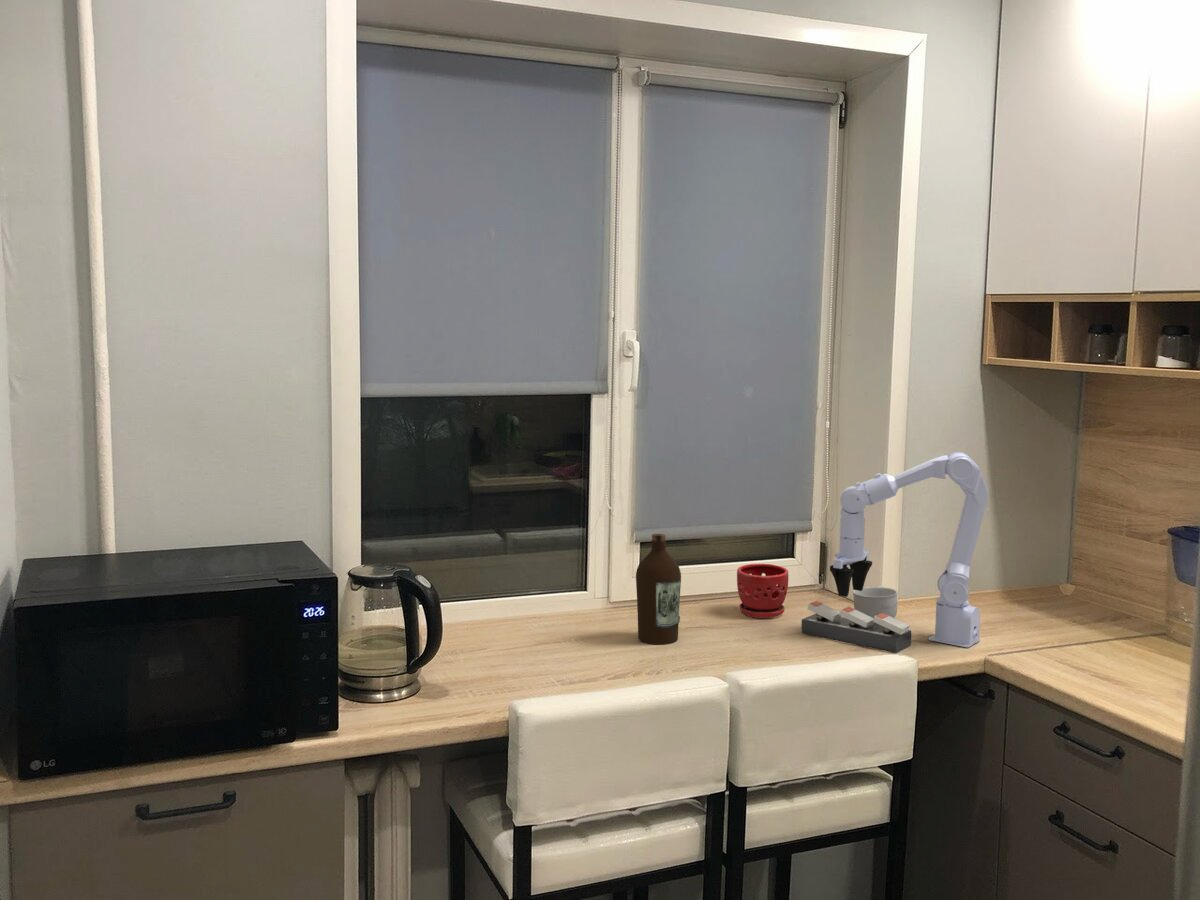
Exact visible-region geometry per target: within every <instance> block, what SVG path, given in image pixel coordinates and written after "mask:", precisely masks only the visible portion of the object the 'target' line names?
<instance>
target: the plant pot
mask: <svg viewBox="0 0 1200 900" xmlns="http://www.w3.org/2000/svg"><path fill="white" fill-rule="evenodd" d="M763 574H765V575H763ZM736 586H737V593H738V596H739V597H738V598H739V599H740V601H741V603H740V604H739V610H740V612H741V613H742V614H743V615H745V616H748V617H751V618H756V619H772V618H773V619H774V618H777V617H779V616H781V615H782V614H783V613H784V612H785V606H784V605H783V604H784V602H785V599H786V597H787V593H788V589H789V570H788V569H787V568H786V567H783V566H780V565H776V564H769V563H751V564H744V565H741V566H739V567H738V568H737V569H736Z"/></svg>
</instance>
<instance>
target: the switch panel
mask: <svg viewBox="0 0 1200 900" xmlns="http://www.w3.org/2000/svg"><path fill="white" fill-rule="evenodd" d="M801 635H806V636H811V637H816V638H821V639H826V640H829V641H830V640H831V641H835V642H840V643H846V644H849V645H854V646H860V647H863V648H868V649H869V648H870V649H874V650H879V651H884V652H889V653H893V654H897V653H899V652H901V651H903V650H905V649H907V648H909V647H910V645H911V646H912V630H910V629H908V631H907V632H905V633H903V634H901V635H900V634H898V633H896V632H894V631H892V630H890V629H888V628H886V627H883V626H881V625H879V624H873V625H871V626H869V627H867V628H865V627H863V626H861V625H859V624H857V623H855V622H852V621H850V620H848V619H846V618H844V617H842V616H841V617H840V618H839V619H837V620H834V621H831V620H829V619H827V618H824V617H822V616H820V615H818V614H816V613H814V614H812V615H809V616H807V617H804V618H801ZM908 646H909V647H908Z"/></svg>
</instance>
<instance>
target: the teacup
mask: <svg viewBox="0 0 1200 900" xmlns="http://www.w3.org/2000/svg"><path fill="white" fill-rule="evenodd" d="M898 592H899V591H898V590H896V589H894V588H891V587H884V586H883V585H878V586H863V590H862V591H858V590H853V591H852V594H853V609H855V610H857V611H859V612H861V613H864V614H866V615H868V616H870V617H872V618H874V616H876V615H878V614H880V613H885V614H887V615H889V616H891V617H893V618H895V617H896V616H897V614H898V594H899V593H898ZM874 624H877V623H875V622H874Z"/></svg>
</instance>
